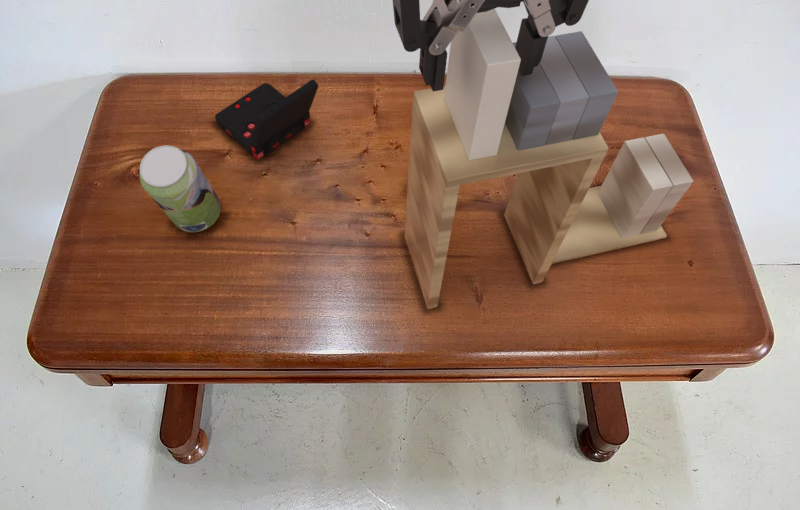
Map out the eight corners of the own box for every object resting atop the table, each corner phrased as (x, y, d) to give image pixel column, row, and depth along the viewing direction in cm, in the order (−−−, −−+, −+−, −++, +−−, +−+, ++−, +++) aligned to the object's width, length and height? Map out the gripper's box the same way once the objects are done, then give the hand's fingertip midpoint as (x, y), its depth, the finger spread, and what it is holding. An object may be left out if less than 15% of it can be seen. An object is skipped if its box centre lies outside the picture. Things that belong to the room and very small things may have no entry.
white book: (496, 155, 49) (521, 59, 40) (468, 160, 49) (487, 65, 40) (469, 93, 52) (487, -7, 44) (443, 98, 52) (455, -3, 43)
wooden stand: (542, 282, 71) (631, 104, 45) (427, 309, 68) (453, 138, 43) (512, 213, 75) (578, 17, 50) (404, 236, 73) (415, 44, 48)
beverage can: (227, 195, 76) (202, 130, 65) (216, 246, 72) (188, 185, 62) (176, 193, 76) (144, 128, 65) (163, 244, 72) (126, 183, 61)
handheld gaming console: (269, 88, 85) (256, 29, 76) (327, 135, 81) (321, 79, 72) (214, 124, 81) (194, 67, 73) (273, 175, 77) (259, 121, 69)
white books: (665, 238, 74) (705, 186, 65) (544, 266, 72) (567, 216, 63) (633, 180, 78) (666, 125, 69) (517, 205, 76) (535, 151, 67)
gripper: (408, -112, 28) (399, 129, 43) (682, -146, 31) (586, 94, 45) (371, -190, 32) (374, 57, 46) (618, -216, 34) (548, 28, 49)
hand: (478, 74), depth 46 cm, fingers open, 6 cm apart
